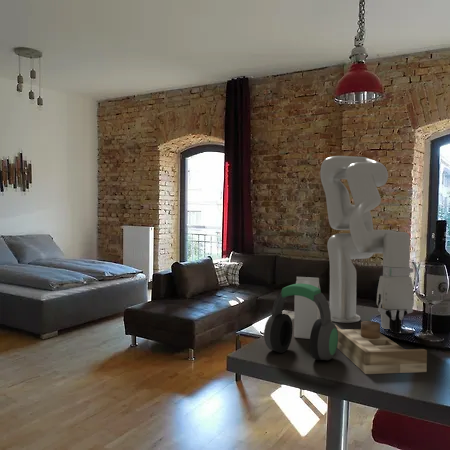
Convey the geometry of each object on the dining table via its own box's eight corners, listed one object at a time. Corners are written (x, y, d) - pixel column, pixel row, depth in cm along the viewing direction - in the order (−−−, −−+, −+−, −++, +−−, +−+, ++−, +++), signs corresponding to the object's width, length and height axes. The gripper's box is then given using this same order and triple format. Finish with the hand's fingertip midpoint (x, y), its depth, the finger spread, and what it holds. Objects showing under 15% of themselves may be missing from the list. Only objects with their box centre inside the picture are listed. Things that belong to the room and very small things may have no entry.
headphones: (339, 355, 127) (340, 285, 126) (326, 367, 118) (327, 291, 117) (278, 344, 137) (278, 278, 137) (261, 354, 128) (261, 284, 127)
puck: (358, 333, 141) (358, 321, 141) (375, 333, 141) (375, 320, 141) (365, 339, 135) (365, 325, 135) (383, 338, 136) (383, 325, 136)
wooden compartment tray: (325, 336, 145) (325, 319, 145) (373, 335, 147) (373, 318, 147) (365, 374, 114) (365, 352, 113) (426, 371, 115) (427, 350, 115)
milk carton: (298, 332, 151) (298, 275, 150) (319, 334, 149) (320, 276, 148) (294, 337, 144) (294, 278, 143) (316, 340, 142) (317, 279, 141)
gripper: (413, 270, 143) (412, 328, 143) (367, 270, 141) (366, 329, 142) (426, 273, 135) (425, 334, 136) (377, 274, 134) (376, 336, 135)
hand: (395, 331), depth 139 cm, fingers closed
